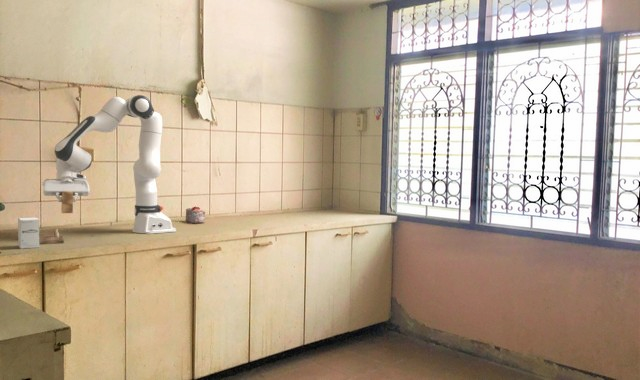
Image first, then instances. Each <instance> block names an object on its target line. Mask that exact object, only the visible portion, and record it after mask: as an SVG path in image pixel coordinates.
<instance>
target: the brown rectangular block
mask: <svg viewBox="0 0 640 380" xmlns="http://www.w3.org/2000/svg"><path fill="white" fill-rule="evenodd" d="M61 197H62V202H61V214H73V210H74V206H73V205H74V202H73V197H74V196H73V191H62V196H61Z"/></svg>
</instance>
